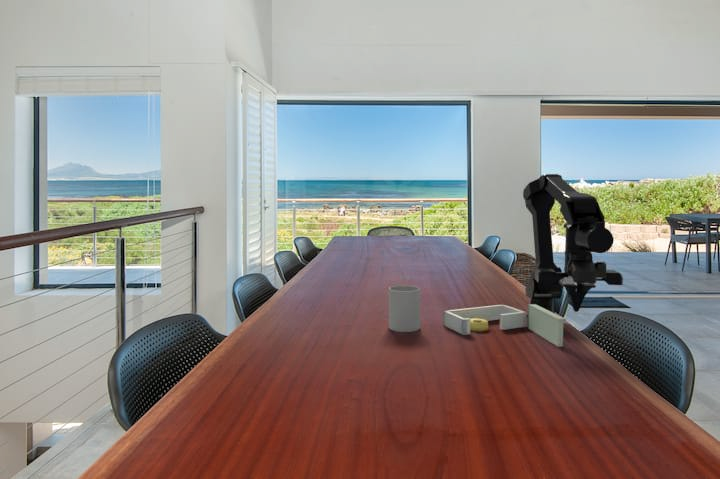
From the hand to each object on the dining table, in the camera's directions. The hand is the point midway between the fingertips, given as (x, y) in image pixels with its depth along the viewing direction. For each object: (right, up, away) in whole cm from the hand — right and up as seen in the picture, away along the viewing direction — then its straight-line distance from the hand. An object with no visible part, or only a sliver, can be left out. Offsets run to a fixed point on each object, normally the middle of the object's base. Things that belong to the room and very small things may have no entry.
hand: (575, 311), depth 113 cm
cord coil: (-21, -6, +12) cm, 25 cm away
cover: (-6, -7, +3) cm, 10 cm away
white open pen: (-19, -6, +14) cm, 24 cm away
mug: (-40, -7, +14) cm, 43 cm away
